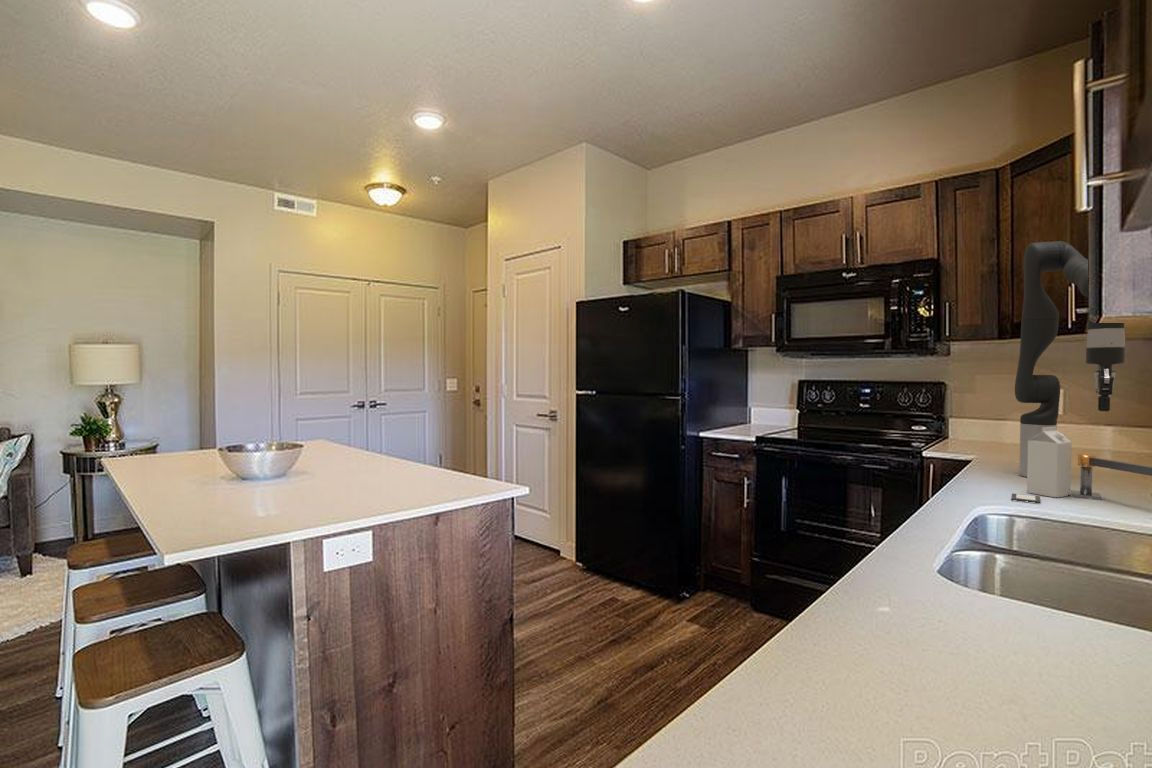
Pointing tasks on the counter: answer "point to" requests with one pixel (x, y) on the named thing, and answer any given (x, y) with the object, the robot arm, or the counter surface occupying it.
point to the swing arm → (1113, 464)
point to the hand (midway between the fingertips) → (1103, 410)
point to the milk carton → (1049, 464)
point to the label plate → (1026, 498)
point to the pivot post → (1086, 485)
